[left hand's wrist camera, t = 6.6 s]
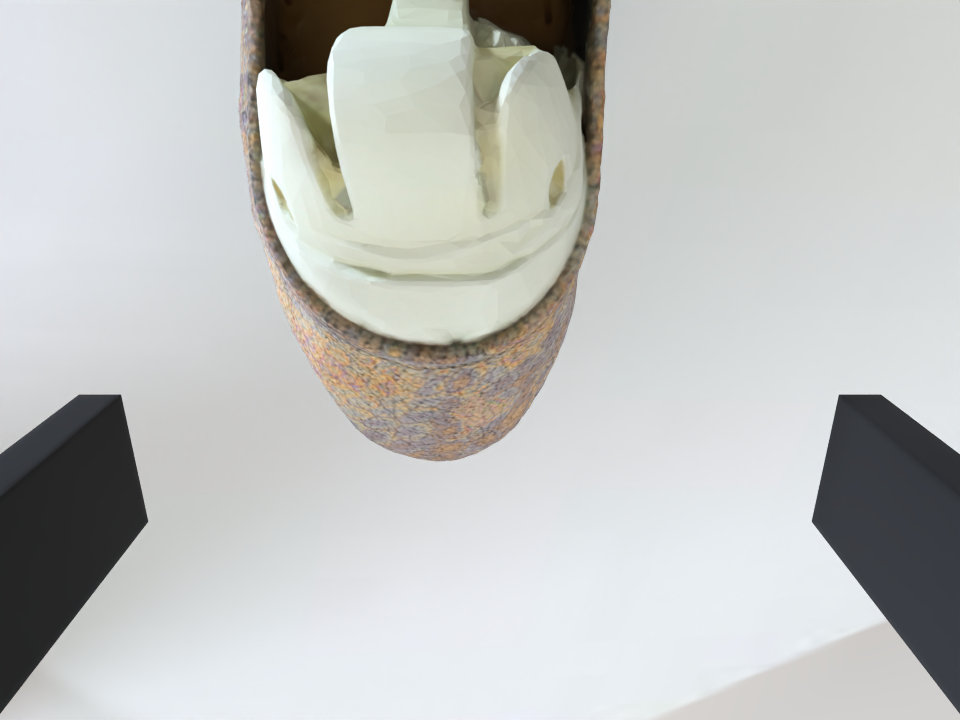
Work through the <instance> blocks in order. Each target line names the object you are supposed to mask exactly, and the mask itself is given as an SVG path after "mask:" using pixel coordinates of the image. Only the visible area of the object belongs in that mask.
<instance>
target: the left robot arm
mask: <svg viewBox="0 0 960 720" xmlns="http://www.w3.org/2000/svg"><path fill="white" fill-rule="evenodd" d="M147 523H148V518H147V514H146V509H145V504H144V500H143V495H142V490H141V486H140V481H139V476H138V472H137V467H136V462H135V458H134V453H133V448H132V444H131V439H130V435H129V430H128V425H127V421H126V416H125V411H124V407H123V402H122V397H121V395H78V396H77V397H75V398H74V399H73V400H71V401H70V402H69V403H67V404H66V405H65V406H63V407H62V408H61V409H59V410H58V411H57V412H56V413H54V414H53V415H52V416H50V417H49V418H48V419H46V420H45V421H44V422H42V423H41V424H40V425H38V426H37V427H36V428H34V429H33V430H32V431H30V432H29V433H28V434H26V435H25V436H24V437H23V438H21V439H20V440H19V441H17V442H16V443H15V444H13V445H12V446H11V447H9V448H8V449H7V450H5V451H4V452H3V453H1V454H0V713H1V712H2V711H3V709H4V708H5V707H6V705H7V704H8V703H9V702H10V700H11V699H12V698H13V696H14V695H15V694H16V693H17V691H18V690H19V689H20V687H21V686H22V685H23V683H24V682H25V681H26V680H27V678H28V677H29V676H30V674H31V673H32V672H33V670H34V669H35V668H36V667H37V665H38V664H39V663H40V661H41V660H42V659H43V657H44V656H45V655H46V654H47V652H48V651H49V650H50V648H51V647H52V646H53V645H54V643H55V642H56V641H57V639H58V638H59V637H60V635H61V634H62V633H63V632H64V630H65V629H66V628H67V626H68V625H69V624H70V622H71V621H72V620H73V619H74V617H75V616H76V615H77V613H78V612H79V611H80V609H81V608H82V607H83V606H84V604H85V603H86V602H87V600H88V599H89V598H90V597H91V595H92V594H93V593H94V591H95V590H96V589H97V587H98V586H99V585H100V584H101V582H102V581H103V580H104V578H105V577H106V576H107V574H108V573H109V572H110V571H111V569H112V568H113V567H114V565H115V564H116V563H117V561H118V560H119V559H120V558H121V556H122V555H123V554H124V552H125V551H126V550H127V548H128V547H129V546H130V545H131V543H132V542H133V541H134V539H135V538H136V537H137V536H138V534H139V533H140V532H141V530H142V529H143V528H144V526H145V525H146V524H147ZM812 523H813V524H814V525H815V526H816V528H817V529H818V530H819V532H820V533H821V534H822V536H823V537H824V538H825V539H826V541H827V542H828V543H829V545H830V546H831V547H832V548H833V550H834V551H835V552H836V554H837V555H838V556H839V558H840V559H841V560H842V561H843V563H844V564H845V565H846V567H847V568H848V569H849V571H850V572H851V573H852V574H853V576H854V577H855V578H856V580H857V581H858V582H859V584H860V585H861V586H862V587H863V589H864V590H865V591H866V593H867V594H868V595H869V597H870V598H871V599H872V600H873V602H874V603H875V604H876V606H877V607H878V608H879V609H880V611H881V612H882V613H883V615H884V616H885V617H886V619H887V620H888V621H889V622H890V624H891V625H892V626H893V628H894V629H895V630H896V631H897V633H898V634H899V635H900V637H901V638H902V639H903V641H904V642H905V643H906V644H907V646H908V647H909V648H910V650H911V651H912V652H913V654H914V655H915V656H916V657H917V659H918V660H919V661H920V663H921V664H922V665H923V667H924V668H925V669H926V670H927V672H928V673H929V674H930V676H931V677H932V678H933V680H934V681H935V682H936V683H937V685H938V686H939V687H940V689H941V690H942V691H943V693H944V694H945V695H946V696H947V698H948V699H949V700H950V702H951V703H952V704H953V705H954V707H955V708H956V709H957V711H958V712H959V713H960V454H959V453H957V452H956V451H955V450H953V449H952V448H951V447H949V446H948V445H947V444H945V443H944V442H943V441H941V440H940V439H939V438H937V437H936V436H935V435H934V434H932V433H931V432H930V431H928V430H927V429H926V428H924V427H923V426H922V425H920V424H919V423H918V422H916V421H915V420H914V419H912V418H911V417H910V416H908V415H907V414H906V413H904V412H903V411H902V410H901V409H899V408H898V407H897V406H895V405H894V404H893V403H891V402H890V401H889V400H887V399H886V398H885V397H883V396H882V395H839V397H838V402H837V407H836V411H835V416H834V421H833V425H832V430H831V435H830V439H829V444H828V448H827V453H826V458H825V462H824V467H823V472H822V476H821V481H820V486H819V490H818V495H817V500H816V504H815V509H814V514H813V518H812Z"/></svg>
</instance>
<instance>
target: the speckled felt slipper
mask: <svg viewBox="0 0 960 720" xmlns="http://www.w3.org/2000/svg"><path fill="white" fill-rule="evenodd" d="M241 5H242V22H241V75H240V98H239V115H240V127H241V134H242V141H243V146H244V154H245V160H246V169H247V175H248V181H249V189H250V197H251V202H252V214H253V217H254V221H255V225H256V228H257V230H258V233H259V235H260V238H261V240H262V243H263V247H264V250H265V253H266V256H267V258H268V262H269V265H270V268H271V271H272V274H273V277H274V280H275V284H276V288H277V292H278V296H279V300H280V302H281V305H282V307H283V310H284V312H285V315H286V317H287V320H288V322H289V324H290V326H291V328H292V332H293V333H294V335H295V337H296V338H297V340H298V342H299V343H300V345H301V347H302V349H303V351H304V353H305V354H306V355H307V358H308V360H309V362H310V364H311V366H312V368H313V369H314V371H315V372H316V374H317V375H318V377H319V379H320V380H321V382H322V383H323V385H324V386H325V387H326V389H327V391H328V392H329V393H330V395H331V396H332V398H333V399H334V400H335V402H336V403H337V405H338V407H339V408H340V409H341V410H342V411H343V412H344V413H345V415H346V416H347V418H348V419H349V420H350V421H351V423H352V424H353V425H354V426H355V427H356V429H358V430H359V431H360V432H361V433H362V434H364V435H365V436H366V437H367V438H368V439H370V440H371V441H373V442H375V443H376V444H378V445H380V446H382V447H384V448H386V449H388V450H390V451H393V452H395V453H399V454H403V455H406V456H410V457H414V458H417V459H423V460H431V461H451V460H457V459H461V458H464V457H467V456H469V455H473V454H476V453H478V452H480V451H482V450H484V449H486V448H487V447H489V446H491V445H492V444H494V443H496V442H498V441H499V440H501V439H502V438H503V437H504V436H506V435H507V433H508V432H509V431H511V430H512V429H513V428H514V427H515V426H516V425H517V424H518V423H519V421H520V419H521V417H522V416H523V415H524V414H525V412H526V411H527V410H528V408H529V407H530V405H531V403H532V402H533V400H534V398H535V397H536V395H537V394H538V393H539V391H540V389H541V387H542V386H543V384H544V382H545V380H546V378H547V375H548V373H549V371H550V370H551V368H552V366H553V364H554V362H555V359H556V357H557V355H558V352H559V350H560V347H561V345H562V343H563V341H564V338H565V334H566V331H567V327H568V325H569V322H570V319H571V316H572V311H573V307H574V303H575V295H576V287H577V277H578V271H579V269H580V267H581V264H582V261H583V258H584V255H585V252H586V249H587V246H588V243H589V240H590V238H591V235H592V233H593V230H594V224H595V219H596V213H597V206H598V193H599V190H600V179H601V177H600V165H601V156H602V144H603V119H604V104H605V90H604V84H605V61H606V46H607V35H608V29H609V13H610V8H611V0H242V1H241Z"/></svg>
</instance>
